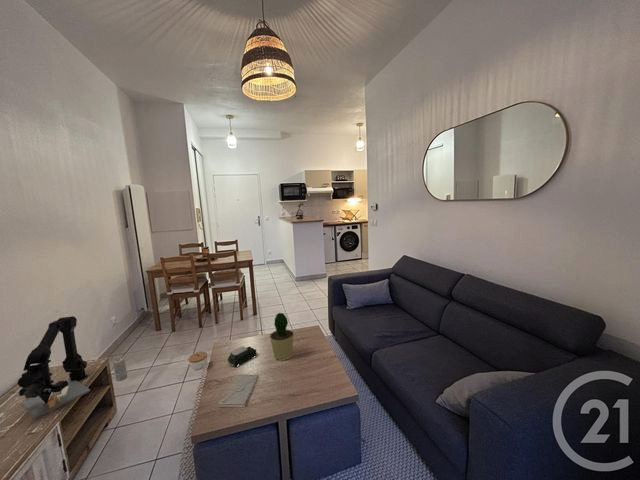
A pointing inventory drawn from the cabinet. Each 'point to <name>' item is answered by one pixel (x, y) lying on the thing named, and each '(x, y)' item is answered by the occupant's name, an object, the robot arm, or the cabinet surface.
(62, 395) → the brown white angular piece
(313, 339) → the cabinet surface
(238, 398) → the envelope
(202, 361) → the lidded jar
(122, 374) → the energy drink
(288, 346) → the potted cactus
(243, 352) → the miniature car
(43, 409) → the slate board
